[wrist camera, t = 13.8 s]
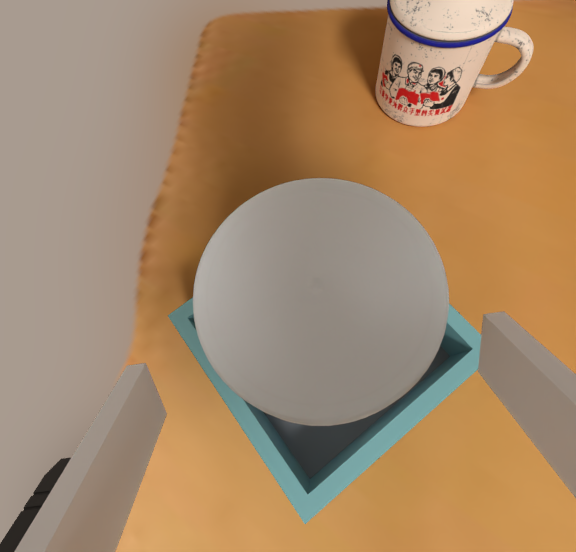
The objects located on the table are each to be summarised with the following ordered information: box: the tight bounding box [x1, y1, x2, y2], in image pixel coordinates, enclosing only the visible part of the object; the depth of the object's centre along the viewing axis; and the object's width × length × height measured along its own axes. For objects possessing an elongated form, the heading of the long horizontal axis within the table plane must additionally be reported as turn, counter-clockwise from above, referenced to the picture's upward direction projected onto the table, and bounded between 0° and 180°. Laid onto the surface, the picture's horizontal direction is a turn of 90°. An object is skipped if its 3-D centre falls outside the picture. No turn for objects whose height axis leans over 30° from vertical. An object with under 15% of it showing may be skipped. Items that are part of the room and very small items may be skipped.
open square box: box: [168, 297, 481, 524], centre depth 25 cm, size 15×15×5 cm
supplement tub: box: [193, 178, 449, 426], centre depth 19 cm, size 10×10×15 cm
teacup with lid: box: [376, 0, 533, 127], centre depth 29 cm, size 12×9×12 cm
